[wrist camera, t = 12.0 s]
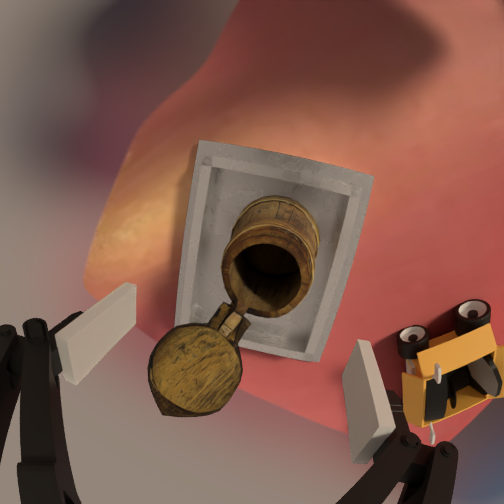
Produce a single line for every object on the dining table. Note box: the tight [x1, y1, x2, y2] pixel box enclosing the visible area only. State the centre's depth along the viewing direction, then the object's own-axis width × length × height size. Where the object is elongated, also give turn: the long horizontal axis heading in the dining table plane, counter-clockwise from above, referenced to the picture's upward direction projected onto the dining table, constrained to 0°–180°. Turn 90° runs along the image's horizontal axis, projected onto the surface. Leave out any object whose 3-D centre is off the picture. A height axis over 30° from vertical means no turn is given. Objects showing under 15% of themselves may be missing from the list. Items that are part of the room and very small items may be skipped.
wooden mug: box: [148, 195, 320, 417], centre depth 22 cm, size 9×14×18 cm, turn 142°
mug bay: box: [174, 140, 374, 362], centre depth 30 cm, size 22×18×4 cm
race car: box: [397, 299, 504, 445], centre depth 27 cm, size 15×15×11 cm
